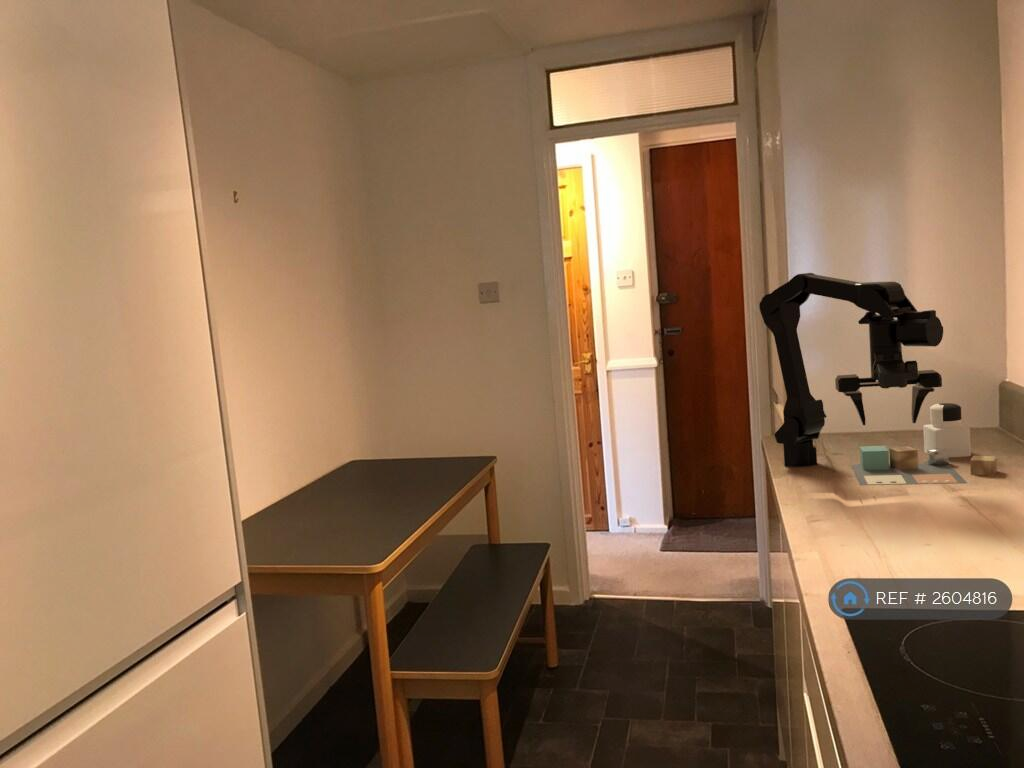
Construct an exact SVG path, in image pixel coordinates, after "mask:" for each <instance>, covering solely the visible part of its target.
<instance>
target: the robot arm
mask: <svg viewBox="0 0 1024 768" xmlns="http://www.w3.org/2000/svg"><path fill="white" fill-rule="evenodd" d="M811 295H816V296H820V297H821V296H822V297H824V298H830V299H836V300H841V301H847V302H849V303H852V304H853V305H855V306H856V307H857V308H859V309H861V310H864V311H866V312H865V314H864V316H862V317H861V318H860V319H859V320H858V324H859V325H868V334H869V337H868V338H869V357H870V360H869V361H870V376H869V377H859V376H858V375H857V374H841V375H839V374H838V375H837V376H836V377H835V380H834V381H835V382H834V383H835V384H834V385H835V389H836V391H837V392H838V393H843V394H844V396H845V397H850V399H851V401H852V403H853V404H854V407H855V410H856V411H857V414H858V417H859V419H860V422H861V423H862V425H863V426H866V415H865V409H864V403H863V393H862V391H860V388H871V387H879V388H881V389H885V390H886V389H889V388H900V389H901V388H906V387H907V386H908V385H913V386H912V391H911V393H912V394H911V421H912V422H911V423H913V424H916V423H917V421H918V420H917V419H918V417H919V414H920V411H921V408H922V405H923V402H924V401H925V399H926V397H927V396H928V394H929V393H931V392H932V393H933V392H935V388H942V387H943V381H942V380H943V378H942V375H941V374H940V373H939V371H936V370H934V369H926V370H925V369H923V370H918V369H919V365H918V362H917V360H906V361H904V359H903V349H902V345H903V346H904V347H932V348H933V347H938V346H939V345H940V344H941V342H942V340H943V338H944V326H943V325H942V322H941V319H939V317H938V316H937V311H936V310H935V309H930V310H929V309H928V310H921V311H918V310H917V308H916V307H915V306H914V305H913V304H912V302H911V301H910V299H909V298H908V297H907V296H906V294H905V290H904V288H903V287H902V285H901V283H899V282H896V281H870V282H868V281H867V282H866V281H865V282H860V281H854V280H848V279H841V278H836V277H830V276H825V275H820V274H815V273H813V272H805V273H797V274H796V275H794V276H793V277H791V279H789V280H788V281H787V282H786V283H784V284H782V285H780V286H779V287H777V288H776V289H775V290H773V291H772V292H770V293H766V294H765V295H764V296H763V297H762V298H761V300H760V302H759V304H758V307H759V312H760V314H761V317H762V320H763V324H764V325H765V326H766V327H767V328H768V329H769V331H770V332H771V333H772V335H773V338H774V342H775V346H776V352H777V357H778V360H779V362H778V363H779V365H780V369H781V370H780V371H781V375H782V381H783V385H784V389H785V390H784V391H785V394H786V400H785V404H784V407H783V410H782V412H783V423H782V424H781V426H780V427H779V428H778V429H777V430H776V431H775V433H774V438H775V440H776V443H777V444H782V446H783V463H784V467H792V468H805V467H812V466H817V465H818V456H817V454H818V453H817V447H816V445H814V440H819V438H820V435H821V431H822V429H823V427H824V426H825V422H826V421H825V420H826V418H827V414H826V412H825V409H824V402H823V400H822V399H817V400H816V399H815V397H814V396H813V395H812V394H811V390H810V387H809V382H808V377H807V374H806V373H807V372H806V368H805V363H804V359H803V354H802V350H801V345H800V339H799V336H798V330H797V329H798V327H799V322H800V319H801V307H802V305H803V304H805V302H807V301H808V300H809V297H810V296H811ZM895 318H896V319H895Z"/></svg>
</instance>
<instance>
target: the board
mask: <svg viewBox="0 0 1024 768" xmlns="http://www.w3.org/2000/svg"><path fill="white" fill-rule="evenodd" d="M850 467H851V469H852V471H853V473H854V475H855V477H856V480H857V482H858V484H859V486H888V485H889V486H890V485H891V486H892V485H893V486H894V485H895V486H896V485H898V486H899V485H900V486H901V485H938V484H939V485H940V484H944V485H946V484H949V485H950V484H968V482H967V481H966V479H964V478H963V477H962V476H961V474H959V473H958V472H957V470H956V469H955V468H954V467H953V466H952V465H951V464H950V463H949V465H945V466H932V465H928V461H927V462H918V469H911V470H900V471H899V470H896V469H894V468H892V467H890V462H889V469H888V470H863V468H862V466H861V463H860V464H858V463H857V464H856V463H855V464H854V463H853V464H850Z"/></svg>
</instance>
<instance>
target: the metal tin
mask: <svg viewBox="0 0 1024 768" xmlns="http://www.w3.org/2000/svg"><path fill="white" fill-rule="evenodd" d="M926 455H927V456H926V457H927V462H928V465H932V466H945V465H949V464H950V458H949V450H948V449H946V448H930V449H927V453H926Z"/></svg>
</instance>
